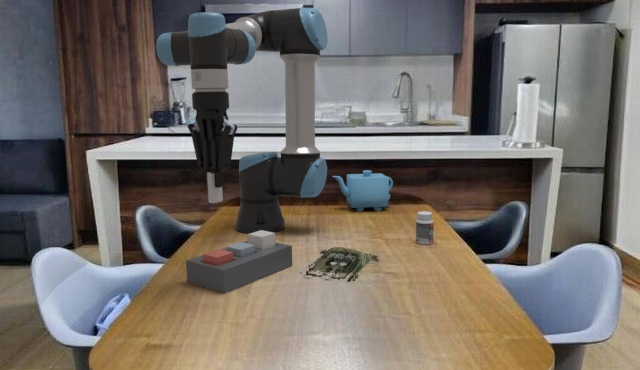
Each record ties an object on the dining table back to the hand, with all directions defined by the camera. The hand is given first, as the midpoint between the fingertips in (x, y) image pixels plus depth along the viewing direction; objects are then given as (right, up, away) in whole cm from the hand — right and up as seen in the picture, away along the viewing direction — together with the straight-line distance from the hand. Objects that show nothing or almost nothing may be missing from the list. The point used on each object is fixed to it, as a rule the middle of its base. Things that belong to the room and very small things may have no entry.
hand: (215, 201), depth 115 cm
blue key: (+4, -14, +8) cm, 17 cm away
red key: (0, -15, +3) cm, 16 cm away
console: (+4, -17, +8) cm, 19 cm away
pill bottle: (+51, -12, +32) cm, 62 cm away
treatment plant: (+27, -16, +14) cm, 35 cm away
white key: (+9, -12, +13) cm, 20 cm away
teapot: (+38, -5, +76) cm, 85 cm away
